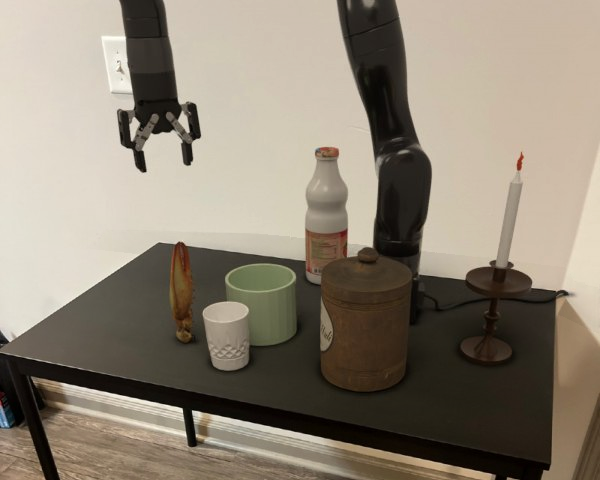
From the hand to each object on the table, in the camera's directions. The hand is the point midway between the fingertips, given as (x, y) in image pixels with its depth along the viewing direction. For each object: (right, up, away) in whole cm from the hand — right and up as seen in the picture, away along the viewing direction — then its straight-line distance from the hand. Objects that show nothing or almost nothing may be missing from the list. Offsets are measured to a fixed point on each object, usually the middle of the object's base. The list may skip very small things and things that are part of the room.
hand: (165, 168), depth 111 cm
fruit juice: (+31, -14, +29) cm, 44 cm away
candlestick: (+58, -34, 0) cm, 68 cm away
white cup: (+12, -36, -1) cm, 38 cm away
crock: (+17, -28, +9) cm, 34 cm away
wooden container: (+36, -37, -4) cm, 52 cm away
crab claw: (+3, -32, +5) cm, 32 cm away
